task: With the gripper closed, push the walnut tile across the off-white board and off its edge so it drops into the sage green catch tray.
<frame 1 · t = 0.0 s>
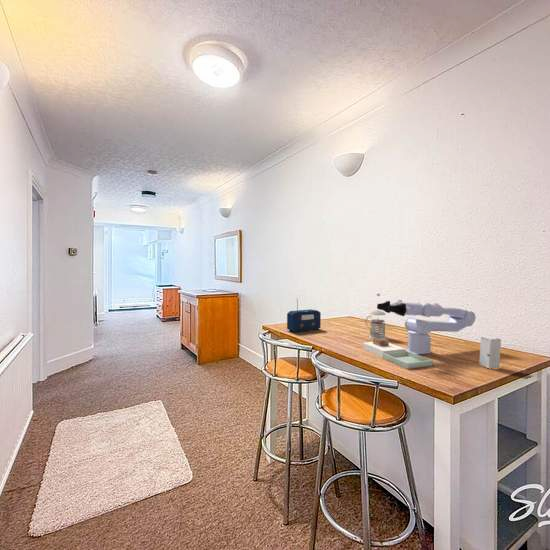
hand: (383, 307, 135), 22 cm above the table, tool horizontal, fingers open, 7 cm apart
radio: (304, 330, 189), on the table
french press: (376, 337, 170), on the table
skincare box: (489, 367, 121), on the table
catch tray: (406, 361, 127), on the table
walnut tile: (380, 342, 143), point 4 cm above the table, touching board
board: (383, 352, 141), on the table
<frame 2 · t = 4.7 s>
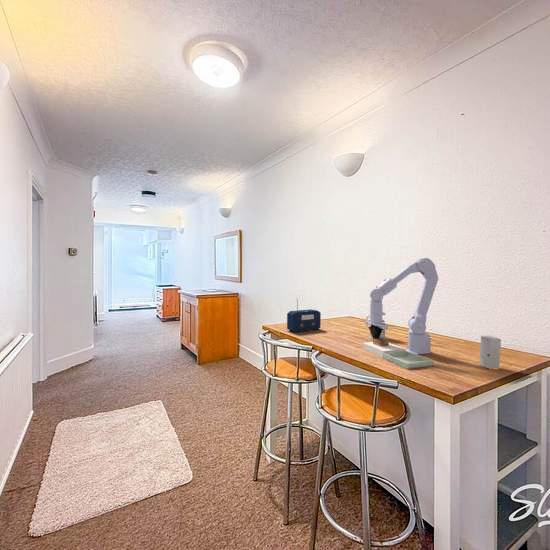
hand: (375, 341, 146), 4 cm above the table, tool pointing down, fingers closed
walnut tile: (380, 342, 143), point 4 cm above the table, touching gripper
everything else where it was.
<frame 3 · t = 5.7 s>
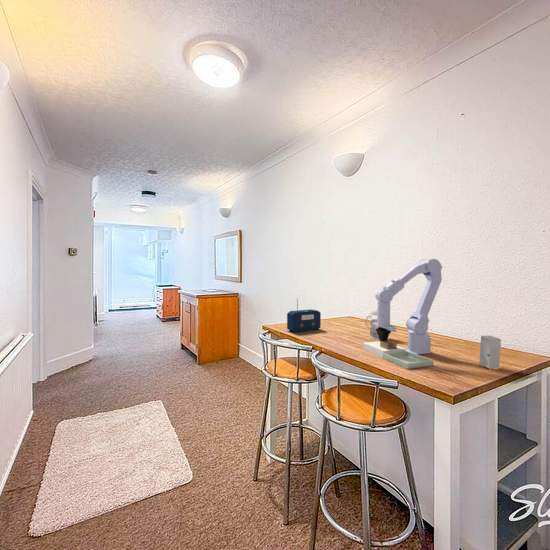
hand: (383, 344, 141), 4 cm above the table, tool pointing down, fingers closed
walnut tile: (388, 344, 138), point 4 cm above the table, touching board, gripper
everything else where it was.
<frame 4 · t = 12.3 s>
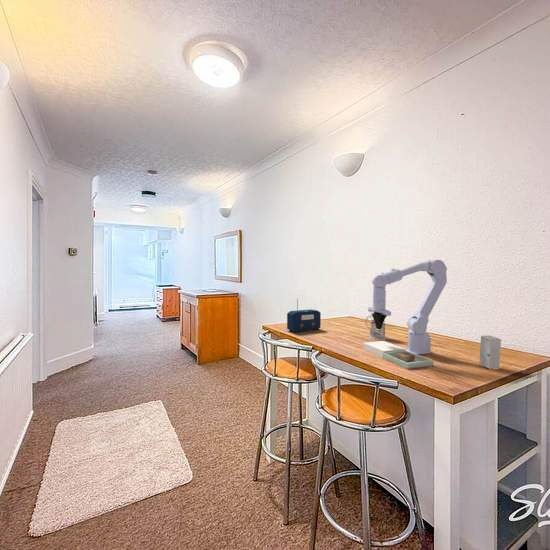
hand: (378, 328, 144), 10 cm above the table, tool pointing down, fingers closed
walnut tile: (405, 357, 127), point 2 cm above the table, tilted 180°, touching catch tray
everything else where it was.
at the end: walnut tile inside the target area on the catch tray (0.6 cm from its centre), point 1.6 cm above the catch tray's base; walnut tile touching catch tray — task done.
